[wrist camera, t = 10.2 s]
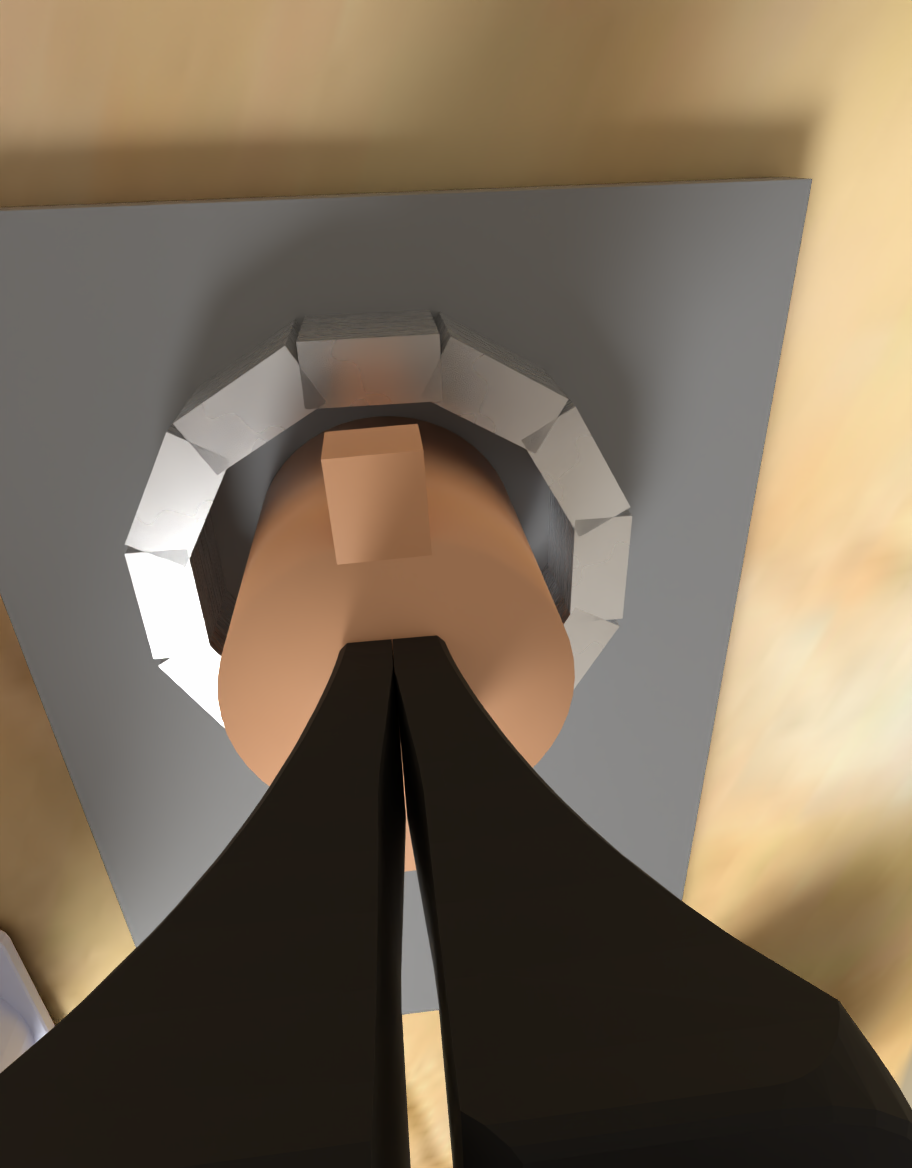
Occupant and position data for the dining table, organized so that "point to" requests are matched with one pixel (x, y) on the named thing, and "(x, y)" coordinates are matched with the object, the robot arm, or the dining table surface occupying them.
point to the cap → (390, 587)
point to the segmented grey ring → (361, 378)
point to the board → (363, 285)
